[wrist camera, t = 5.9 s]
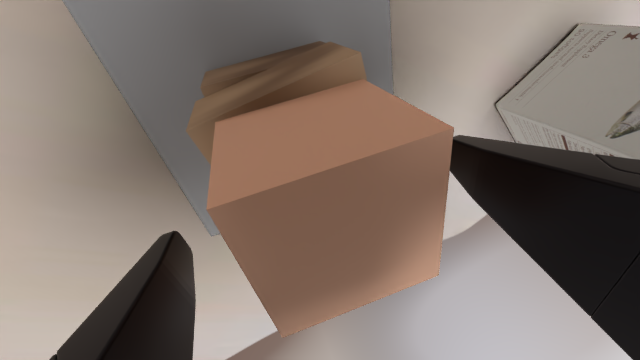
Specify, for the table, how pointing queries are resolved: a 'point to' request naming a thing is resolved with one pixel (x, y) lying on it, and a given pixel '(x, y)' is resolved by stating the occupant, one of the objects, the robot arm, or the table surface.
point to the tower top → (275, 88)
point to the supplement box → (582, 95)
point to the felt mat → (214, 58)
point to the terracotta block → (331, 200)
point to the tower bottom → (248, 68)
